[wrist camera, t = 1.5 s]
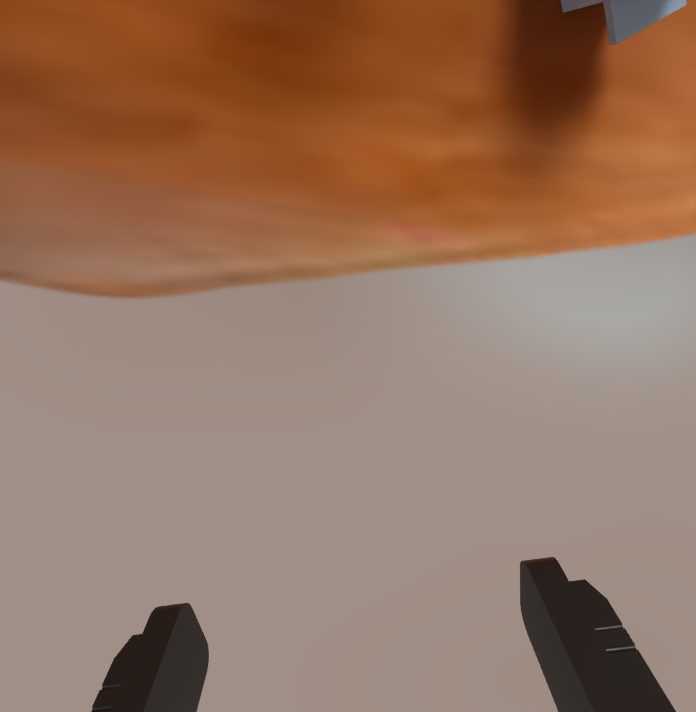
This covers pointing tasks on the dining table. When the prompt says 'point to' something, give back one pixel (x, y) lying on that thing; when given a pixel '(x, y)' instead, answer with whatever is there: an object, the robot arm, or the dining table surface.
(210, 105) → the dining table surface
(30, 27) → the dining table surface
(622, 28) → the block
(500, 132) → the dining table surface
